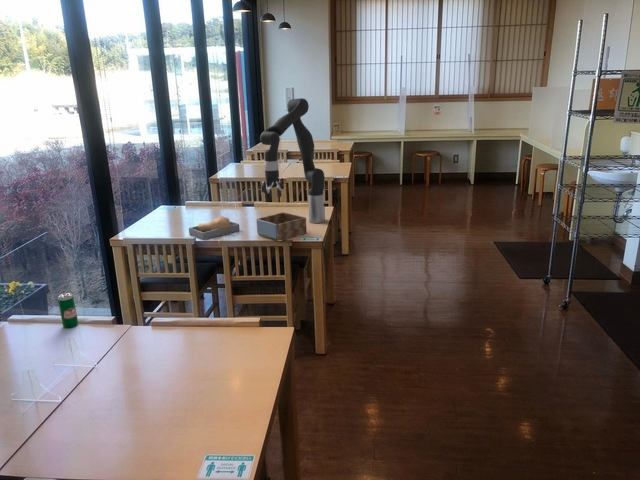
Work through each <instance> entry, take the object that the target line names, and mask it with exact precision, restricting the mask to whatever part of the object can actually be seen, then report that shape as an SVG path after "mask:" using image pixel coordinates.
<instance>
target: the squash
mask: <svg viewBox="0 0 640 480" xmlns="http://www.w3.org/2000/svg"><path fill="white" fill-rule="evenodd" d="M197 226H198V228H197V230H198V231H201V232H202V231H204V232H207V231H211V230H215V229H219V228H223V229H225V230H228V227H229V226H231V223H230V218H229V217H225V216H222V215H220V216H218V217H215V218H213V219H212V220H210V221H209V222H205V223H199V224H198V225H197Z"/></svg>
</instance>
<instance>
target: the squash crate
mask: <svg viewBox="0 0 640 480" xmlns="http://www.w3.org/2000/svg"><path fill="white" fill-rule="evenodd" d="M229 221H230V220H229ZM230 223H231V226H229V227H228V230H225V229H223V228H219V229H215V230H211V231H202V232H201V231H198V230H197V228H198V225H196V226H192V227H189V228H188V233H189V235H190V236H192V237H194V236H195V237H194V238H196V239H197V238H198V239H200V240H202V241H204V240H208V239H212V238H216V237H220V236H223V235H224V236H225V235H228V234H231V233H236V232H240V230H241V229H240V223H238V222H237V223H236V222H233V221H230Z"/></svg>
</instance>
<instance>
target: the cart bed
mask: <svg viewBox="0 0 640 480" xmlns="http://www.w3.org/2000/svg"><path fill="white" fill-rule="evenodd" d="M257 219H259V220H263V221H267V222H270V223H274V224H277V233H278V239H275V238H272V237H268V236H265V235H262V234H259V236H261V237H264V236H265V237H264V238H267V237H268V239H270V240H274V239H275V240H274V241H277V240H283V241H286V240H285V239H287V240H289V239H293V238H298V237H299V236H303V235H306V234H308V233H307V231H308V230H307V217H305V216H301V215H297V214H292V213H290V212H289V213H288V212H284V211H283V212H278V213H275V214H271V215H265V216H262V217H258V218H257Z"/></svg>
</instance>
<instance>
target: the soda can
mask: <svg viewBox="0 0 640 480" xmlns="http://www.w3.org/2000/svg"><path fill="white" fill-rule="evenodd" d="M57 302H58V307H59V313H60V317H61V318H60V319H61V321H62V323H61V324H62V327H64V328H65V329H71V328H74V327H77V325H78V324H79V321H78V320H79V319H78V314H77V307H76V302H75V298H74V295H73V294H72V293H70V292H63V293H61V294H59V295H58V298H57Z"/></svg>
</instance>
